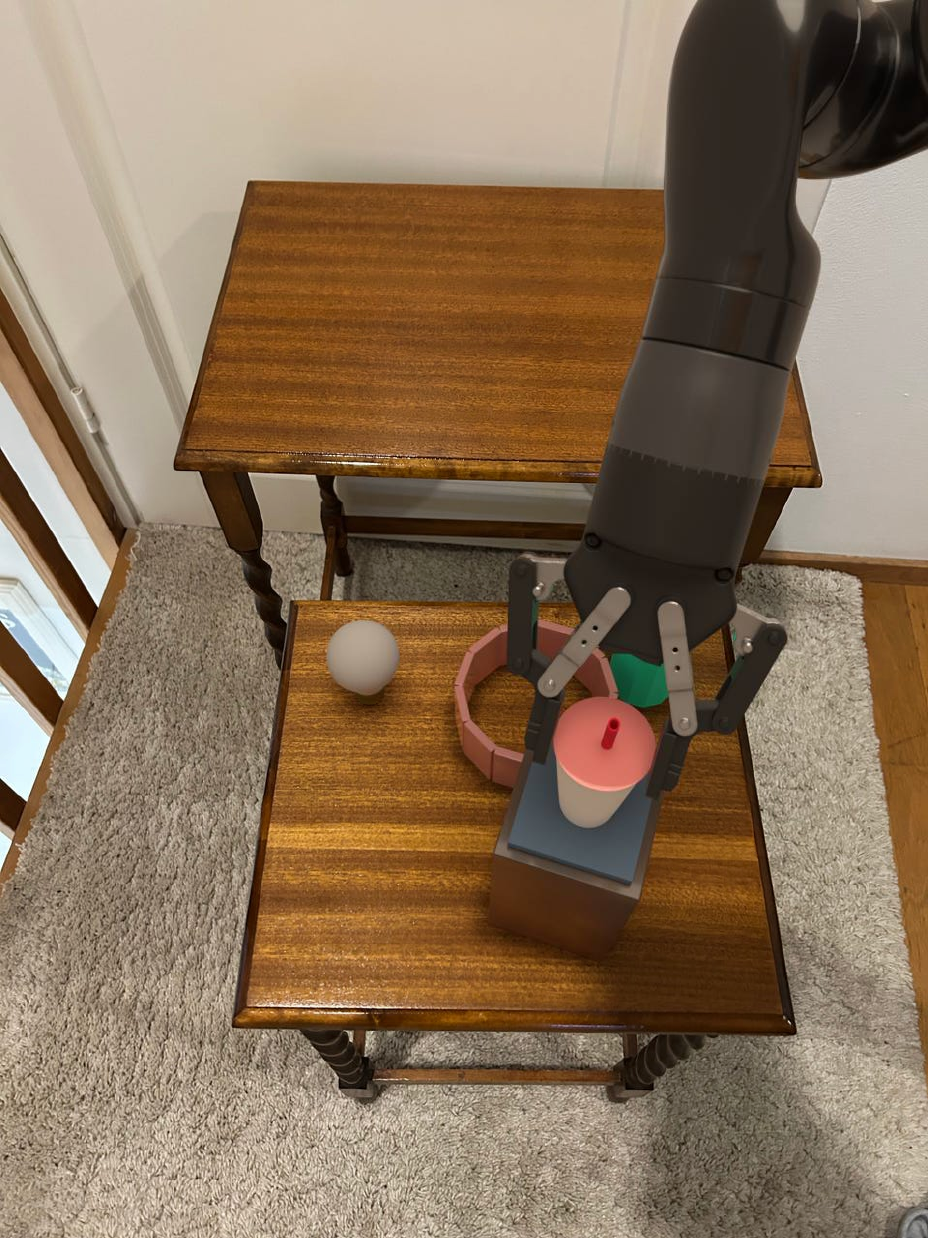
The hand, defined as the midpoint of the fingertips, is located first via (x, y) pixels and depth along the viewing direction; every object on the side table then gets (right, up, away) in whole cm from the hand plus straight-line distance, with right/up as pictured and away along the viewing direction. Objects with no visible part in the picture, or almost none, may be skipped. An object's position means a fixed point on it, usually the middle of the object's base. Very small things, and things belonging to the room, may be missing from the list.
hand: (596, 774), depth 48 cm
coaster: (+1, -3, +9) cm, 10 cm away
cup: (+1, -3, +9) cm, 9 cm away
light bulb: (-15, +1, +33) cm, 36 cm away
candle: (+9, +3, +34) cm, 35 cm away
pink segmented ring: (-1, -1, +32) cm, 32 cm away
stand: (+1, -13, +24) cm, 28 cm away
